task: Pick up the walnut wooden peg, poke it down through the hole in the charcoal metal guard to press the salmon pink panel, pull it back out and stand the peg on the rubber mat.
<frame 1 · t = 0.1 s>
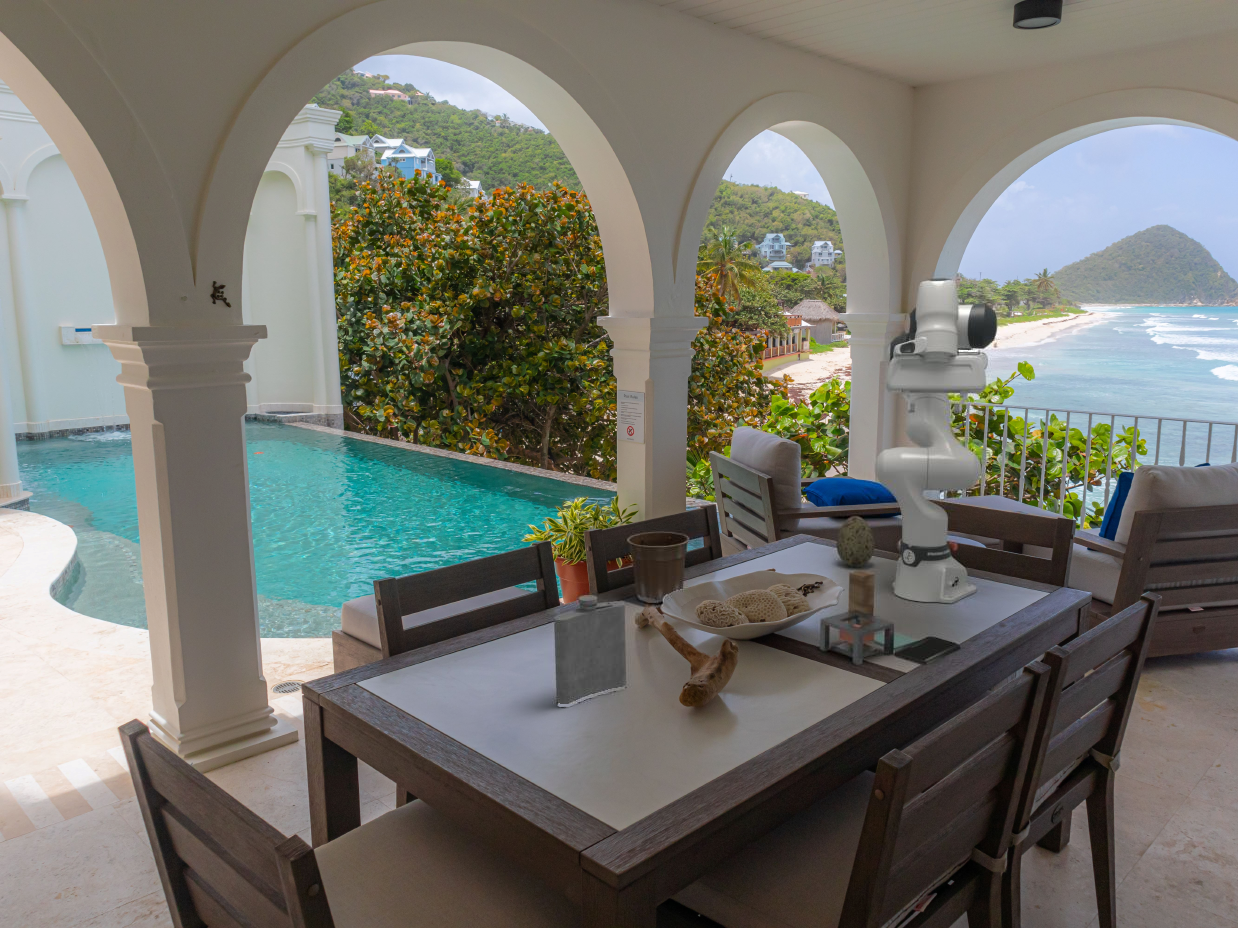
hand: (934, 412, 188), 52 cm above the table, tool tilted 20°, fingers open, 8 cm apart
phone: (927, 654, 192), on the table
mat: (892, 640, 199), on the table
peg: (860, 631, 205), on the table
guard: (856, 651, 193), on the table
hip flask: (591, 696, 173), on the table
plant pot: (658, 598, 233), on the table
decorative egg: (854, 566, 259), on the table
salmon pink panel: (856, 634, 192), point 4 cm above the table, slide at 0.0 cm
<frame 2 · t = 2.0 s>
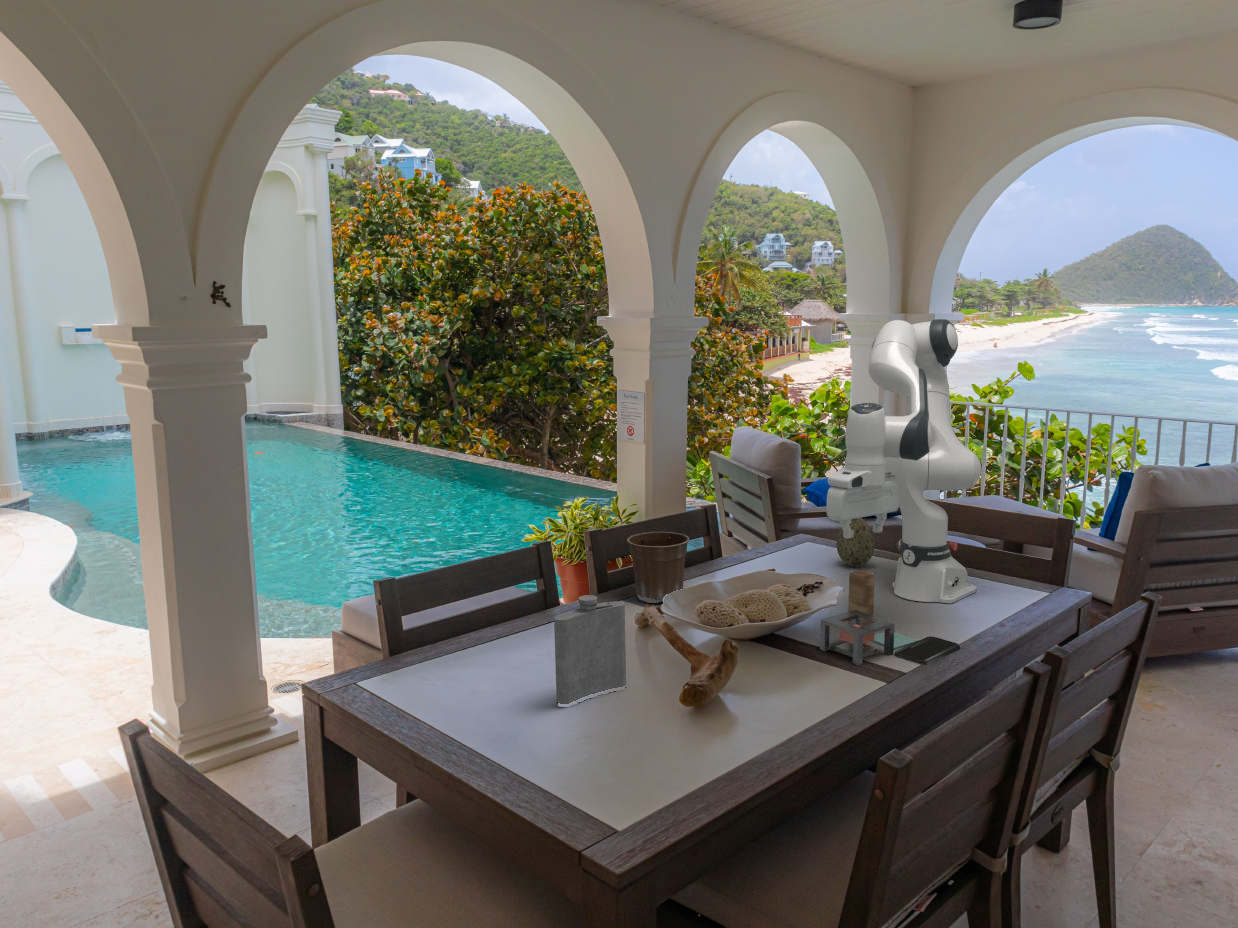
hand: (863, 535, 201), 23 cm above the table, tool pointing down, fingers open, 8 cm apart
nothing on the table moved.
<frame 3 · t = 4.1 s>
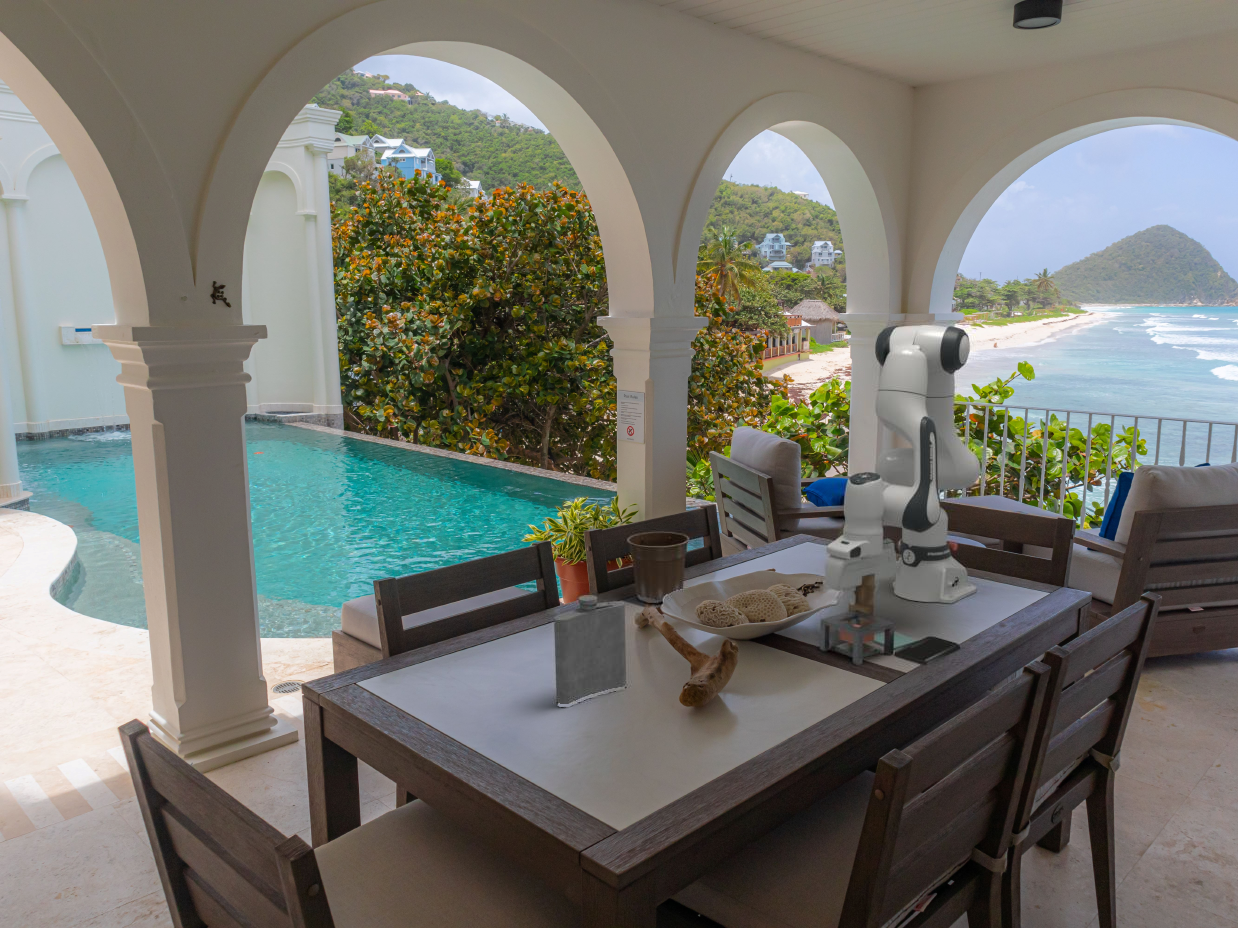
hand: (861, 601, 204), 7 cm above the table, tool pointing down, fingers closed on peg, 4 cm apart
peg: (860, 631, 205), on the table, touching gripper
everything else where it was.
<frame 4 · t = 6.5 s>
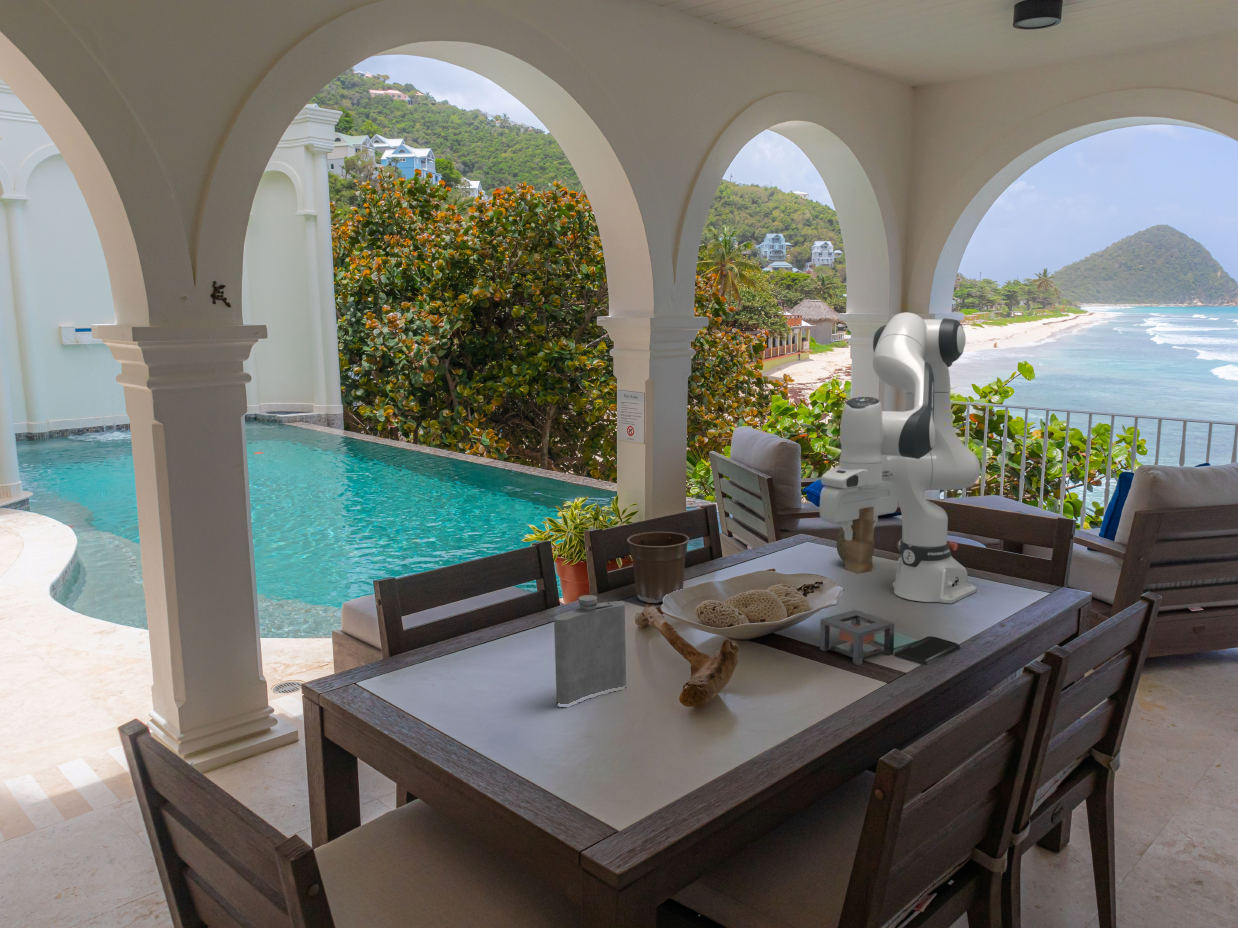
hand: (858, 538, 189), 26 cm above the table, tool pointing down, fingers closed on peg, 4 cm apart
peg: (858, 570, 190), point 18 cm above the table, touching gripper
everything else where it was.
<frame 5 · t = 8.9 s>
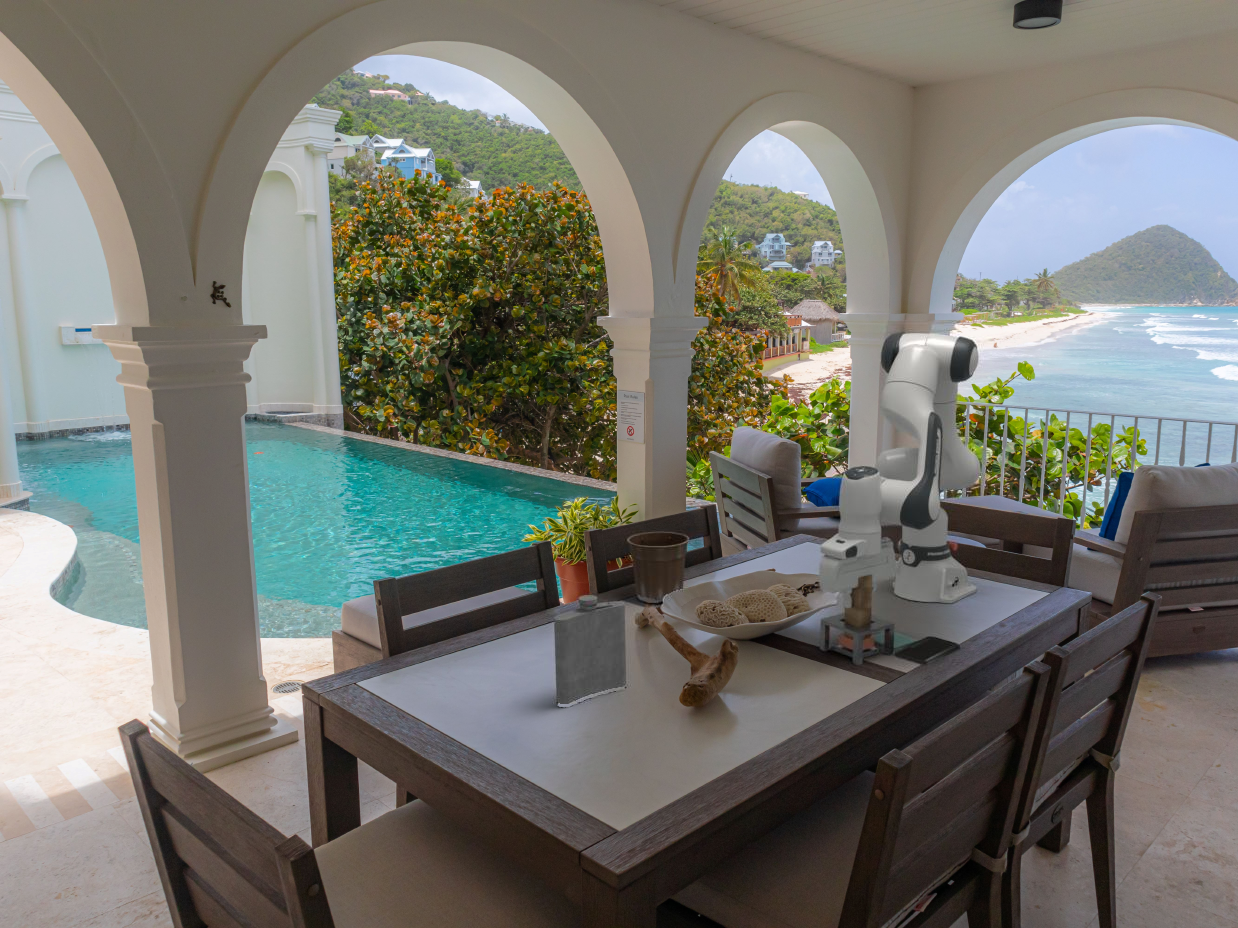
hand: (857, 604, 191), 11 cm above the table, tool pointing down, fingers closed on peg, 4 cm apart
peg: (857, 636, 192), point 4 cm above the table, touching gripper, salmon pink panel
salmon pink panel: (856, 640, 192), point 2 cm above the table, slide at 1.4 cm, touching peg
everything else where it was.
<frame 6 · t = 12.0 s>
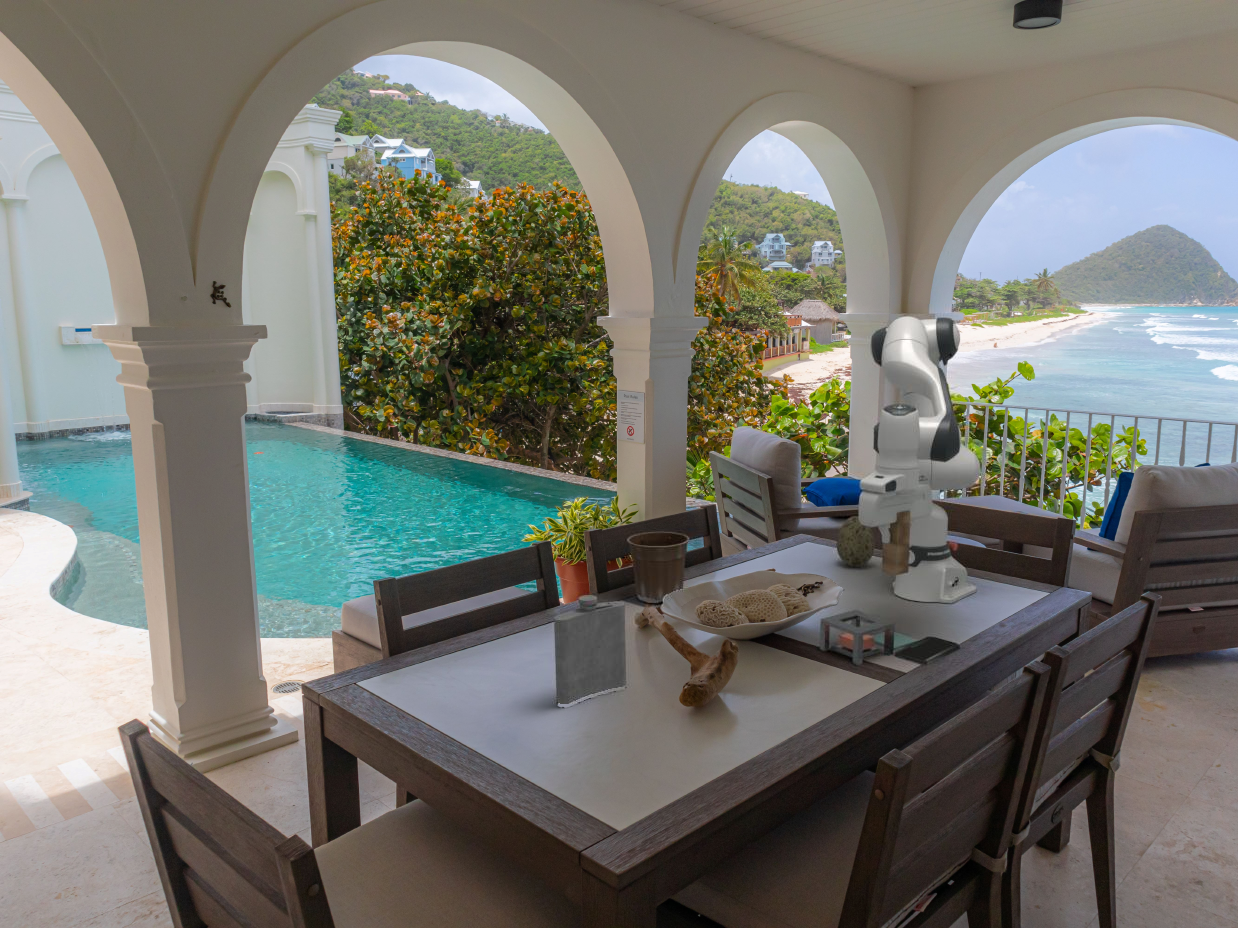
hand: (895, 540, 195), 23 cm above the table, tool pointing down, fingers closed on peg, 4 cm apart
peg: (895, 571, 196), point 16 cm above the table, touching gripper
salmon pink panel: (856, 640, 192), point 2 cm above the table, slide at 1.4 cm
everything else where it was.
when the fingers open (9 cm above the table, at t = 14.8 s): peg stays where it is, resting on mat.
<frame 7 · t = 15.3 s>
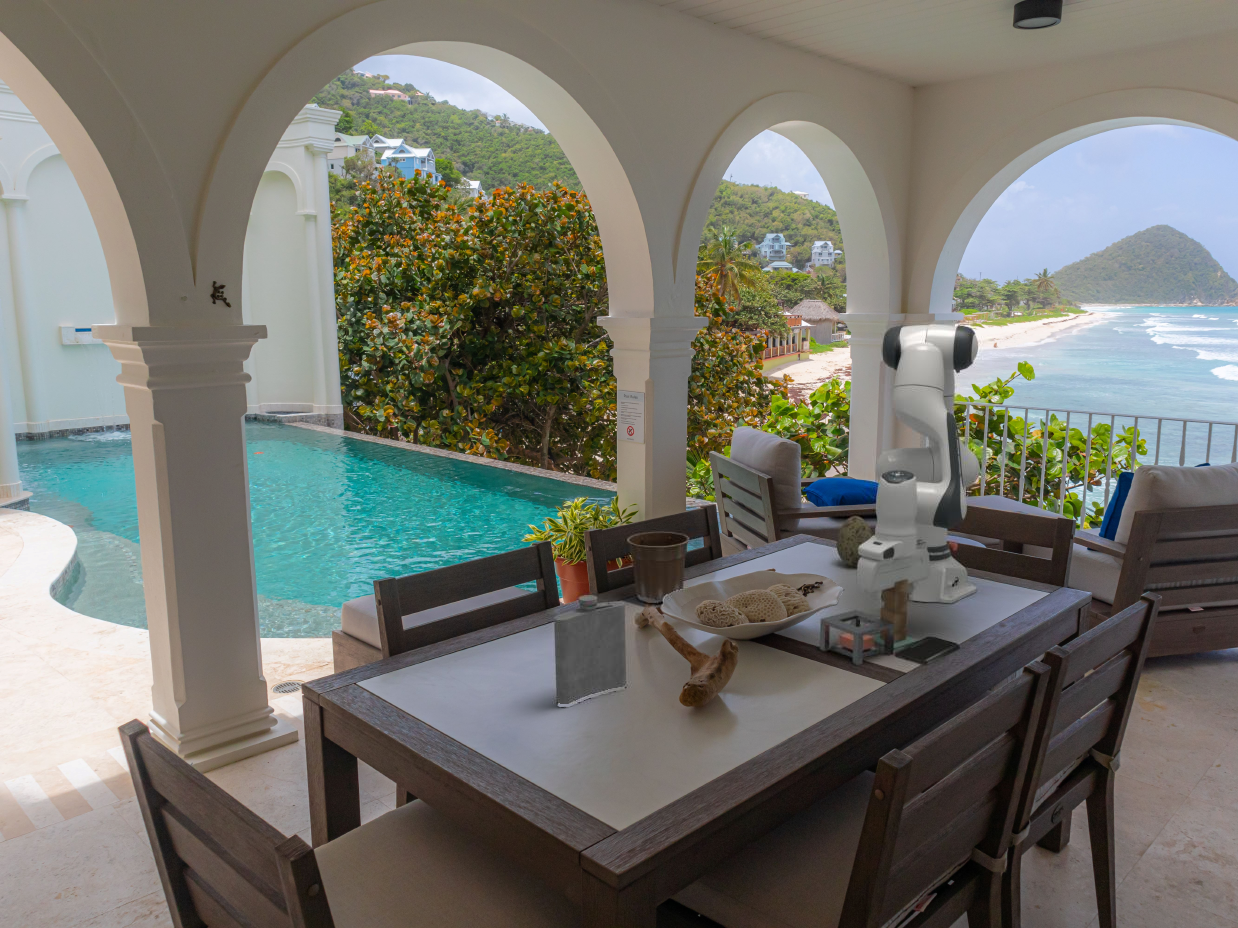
hand: (893, 604, 197), 9 cm above the table, tool pointing down, fingers open, 8 cm apart
peg: (892, 638, 198), point 1 cm above the table, touching mat
everything else where it was.
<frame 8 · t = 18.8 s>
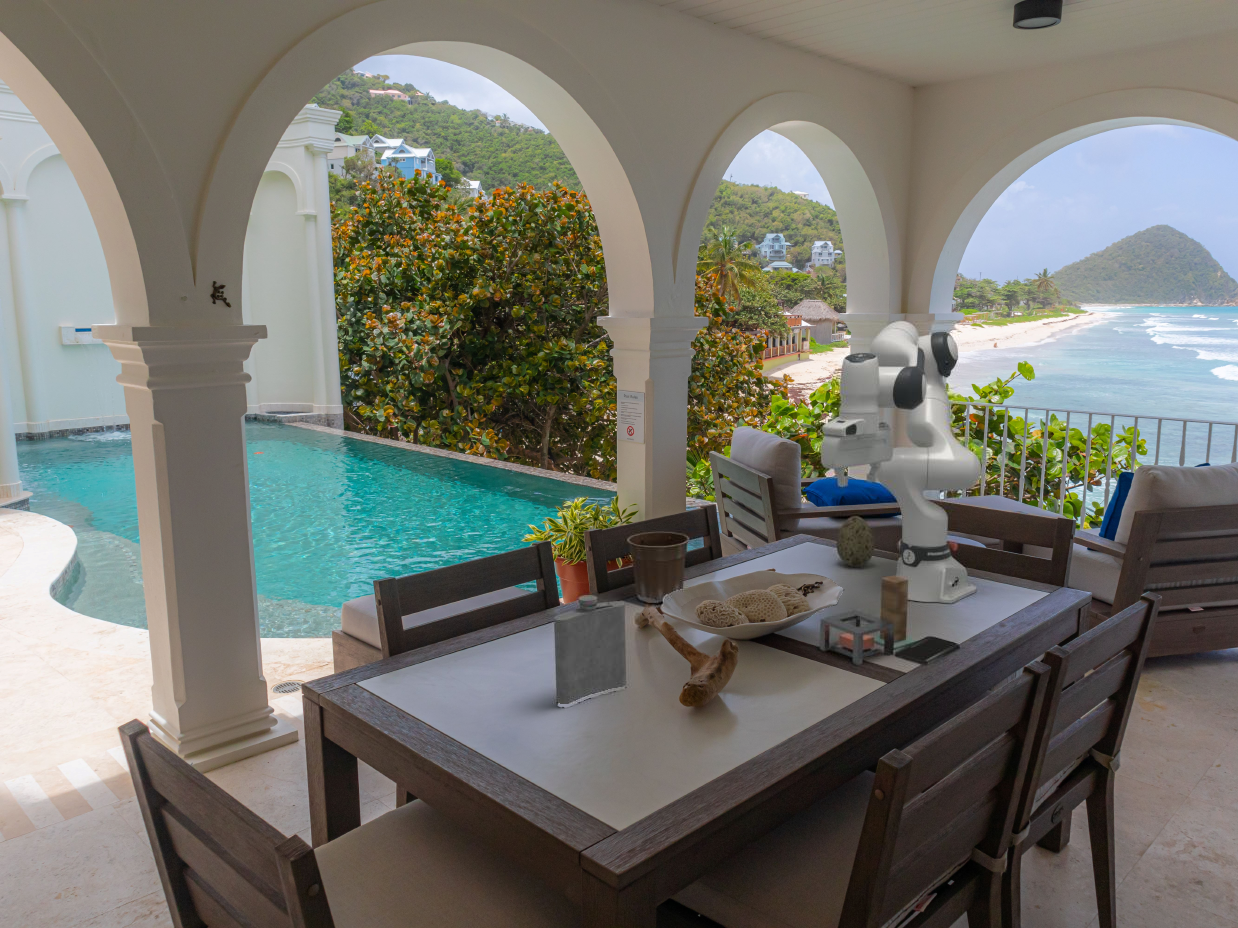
hand: (857, 484, 204), 34 cm above the table, tool pointing down, fingers open, 8 cm apart
nothing on the table moved.
at the end: salmon pink panel slide at 1.4 cm; peg 0.1 cm off-centre on the mat, point 0.5 cm above the mat's base; peg tilted 0° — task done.
